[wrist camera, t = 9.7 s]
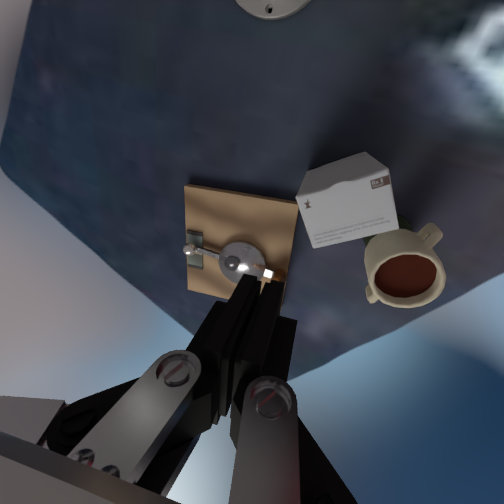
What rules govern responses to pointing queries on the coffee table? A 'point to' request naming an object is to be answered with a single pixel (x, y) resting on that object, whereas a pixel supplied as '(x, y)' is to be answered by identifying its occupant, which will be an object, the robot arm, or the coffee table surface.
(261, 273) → the cam capstan
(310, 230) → the skincare box
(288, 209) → the stand
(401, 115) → the coffee table surface
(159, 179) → the coffee table surface
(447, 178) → the coffee table surface
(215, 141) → the coffee table surface
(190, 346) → the robot arm
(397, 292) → the character mug
